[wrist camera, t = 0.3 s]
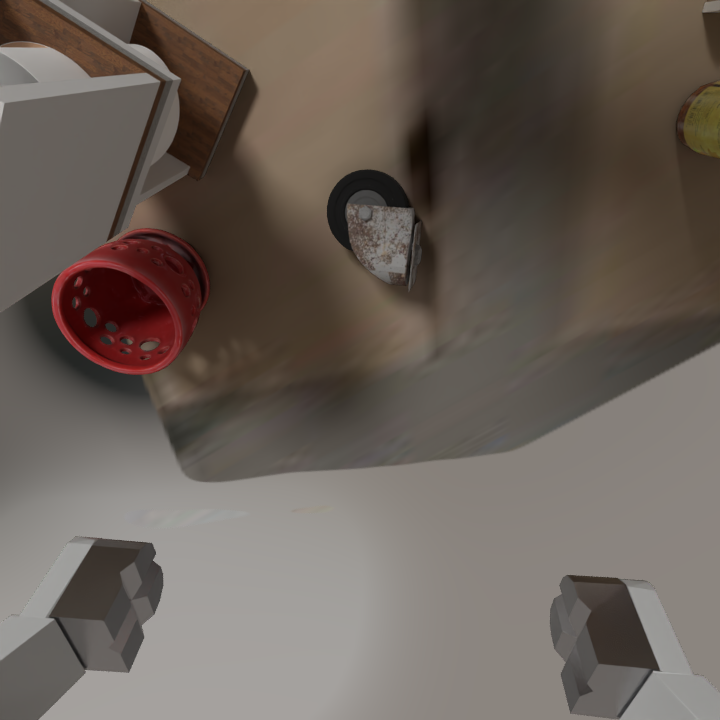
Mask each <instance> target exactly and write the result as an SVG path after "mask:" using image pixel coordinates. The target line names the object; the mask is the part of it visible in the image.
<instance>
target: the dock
mask: <svg viewBox="0 0 720 720" xmlns="http://www.w3.org/2000/svg"><path fill="white" fill-rule="evenodd" d="M702 12H711V13H720V0H707V2H705V4H704V8H703V11H702Z"/></svg>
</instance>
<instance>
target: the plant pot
mask: <svg viewBox="0 0 720 720" xmlns="http://www.w3.org/2000/svg"><path fill="white" fill-rule="evenodd" d="M77 277H78V280H77V283H76V284H75V286H74V281H75V280H76V279H77ZM85 287H86V293H85V295H84V294H83V290H84V288H85ZM209 292H210V280H209V275H208V272H207V269H206V267H205V265H204V263H203V261H202V259H201V258H200V256H199V255H198V254H197V252H196V251H195V250H194V249H193V248H192V247H191V246H190V245H189V244H188V243H187V242H185V241H184V240H182V239H181V238H179V237H177V236H175V235H173V234H171V233H168V232H166V231H162V230H158V229H150V228H144V229H137V230H133V231H131V232H128V233H126V234H125V235H123V236H122V237H120V238H119V239H118V240H117V241H114V242H111V243H108V244H105V245H102V246H100V247H98V248H96V249H95V250H93V251H92V252H90V253H89V254H87V255H86V256H84V257H83V258H82V259H80V260H79V261H77V262H76V263H74V264H73V265H71V266H70V267H68V268H67V269H65V270H64V271H62V272H61V274H60V275H59V276H58V278H57V280H56V282H55V284H54V287H53V291H52V310H53V314H54V318H55V320H56V322H57V324H58V326H59V328H60V330H61V332H62V333H63V335H64V336H65V337H66V339H67V340H68V341H69V342H70V343H71V345H72V346H73V347H74V348H76V349H77V350H78V351H79V352H80V353H81V354H83V355H84V356H85V357H87V358H88V359H90V360H91V361H93V362H95V363H97V364H99V365H101V366H103V367H105V368H107V369H110V370H113V371H116V372H120V373H127V374H134V375H136V374H137V375H141V374H150V373H154V372H157V371H160V370H162V369H164V368H165V367H167V366H168V365H170V364H171V363H172V362H173V361H174V360H175V359H176V358H177V356H178V355H179V354H180V352H181V351H182V350H183V348H184V347H185V345H186V344H187V342H188V341H189V339H190V337H191V335H192V333H193V331H194V329H195V327H196V325H197V322H198V319H199V315H200V311H201V310H202V309H203V308H204V306H205V305H206V303H207V300H208V297H209ZM74 297H75V298H76V307H75V308H73V305H72V300H73V298H74ZM86 308H90V309H92V310H93V311H94V313H95V315H96V317H97V324H96V326H94V327H90V326H88V325H87V324H86V322H85V320H84V310H85V309H86ZM106 323H111V324H113V325H114V326H115V327H116V329H117V330H116V332H110V331H109V330H107V329H106V326H105V324H106ZM101 337H107V338H109V339H110V340H111V341H112V344H111V345H107V344H104V343H103V342H102V341H101V340H100V338H101ZM124 338H125V339H130V340H131V341H133V343H132V344H131V345H126V344H123V343H122V342H121V340H122V339H124ZM149 341H156V342H159V343H160V344H159V346H158V347H157V348H155V349H153V350H150V351H144V350H142V349H141V348H140V347H141V345H142V344H143V343H145V342H149ZM122 351H127V352H129V354H123V353H121V352H122ZM164 352H165V353H164ZM145 358H149V359H147V360H143V359H145Z"/></svg>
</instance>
